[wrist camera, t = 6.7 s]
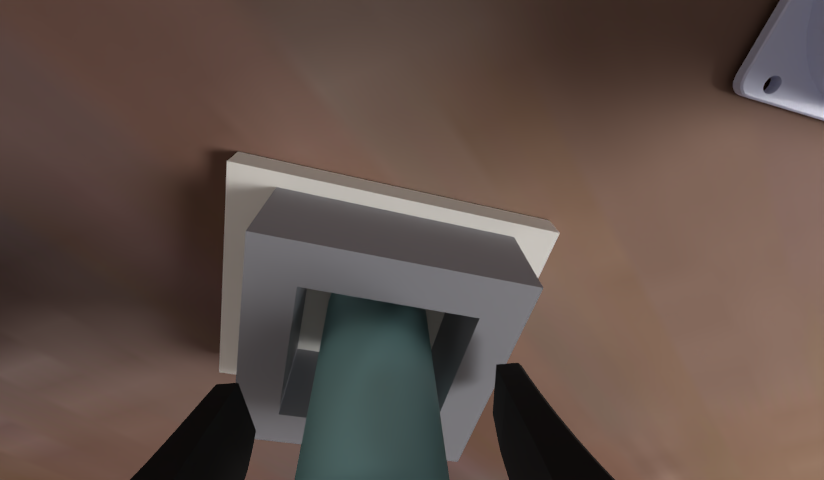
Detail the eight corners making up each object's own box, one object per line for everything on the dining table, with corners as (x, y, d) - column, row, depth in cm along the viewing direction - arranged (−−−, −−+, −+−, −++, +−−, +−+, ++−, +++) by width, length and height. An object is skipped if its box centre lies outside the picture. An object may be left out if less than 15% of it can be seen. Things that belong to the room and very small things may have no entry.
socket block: (549, 220, 15) (600, 282, 11) (472, 389, 19) (491, 474, 15) (238, 151, 13) (180, 199, 9) (227, 354, 17) (185, 440, 13)
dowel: (444, 300, 15) (486, 499, 9) (387, 358, 16) (389, 566, 10) (364, 252, 14) (349, 445, 8) (309, 318, 15) (258, 529, 9)
